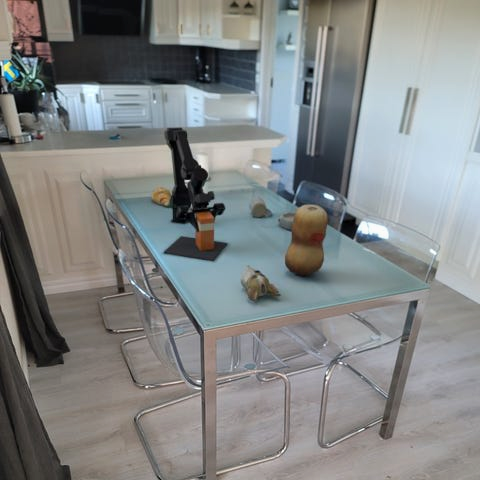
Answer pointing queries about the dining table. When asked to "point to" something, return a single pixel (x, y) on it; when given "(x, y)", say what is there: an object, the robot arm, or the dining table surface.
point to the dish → (286, 220)
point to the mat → (194, 249)
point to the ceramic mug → (259, 207)
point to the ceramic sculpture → (257, 284)
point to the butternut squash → (307, 240)
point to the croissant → (161, 196)
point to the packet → (205, 231)
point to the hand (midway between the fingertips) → (205, 230)
